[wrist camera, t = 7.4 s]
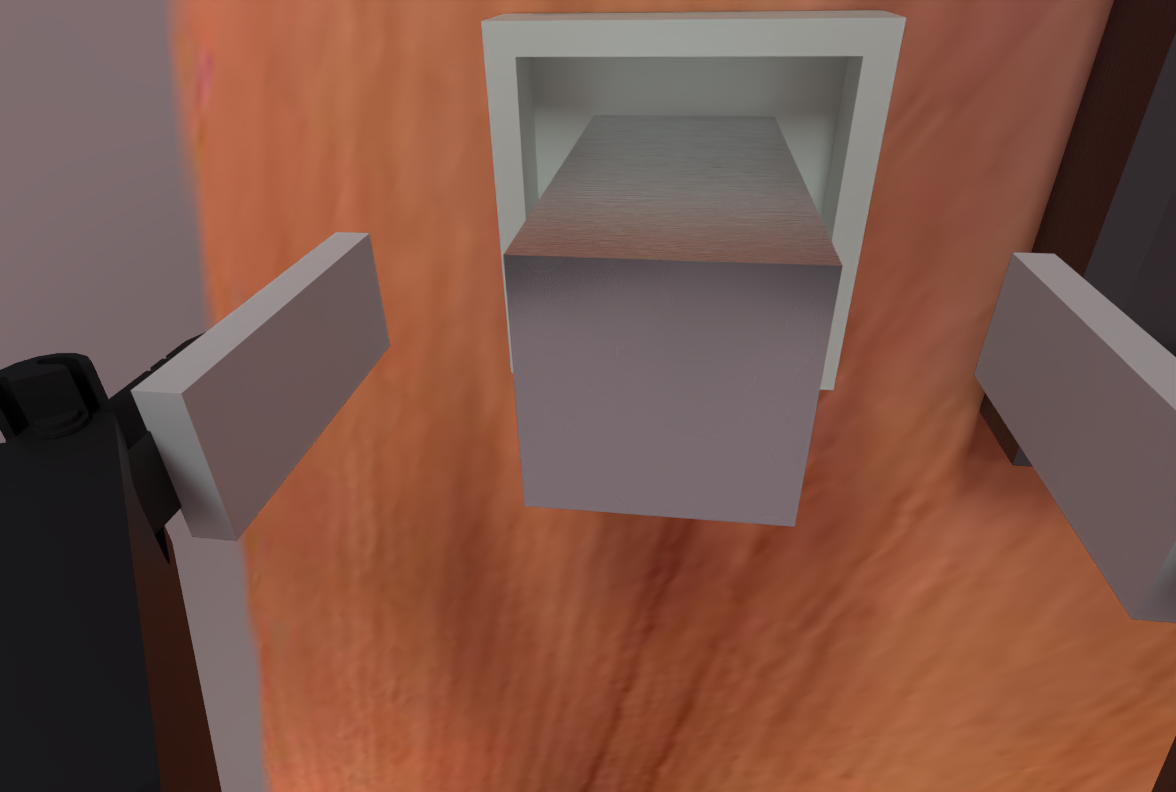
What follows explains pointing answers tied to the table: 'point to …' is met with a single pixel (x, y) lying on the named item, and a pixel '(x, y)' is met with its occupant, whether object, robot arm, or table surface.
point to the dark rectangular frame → (1120, 181)
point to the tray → (698, 100)
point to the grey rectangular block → (671, 322)
